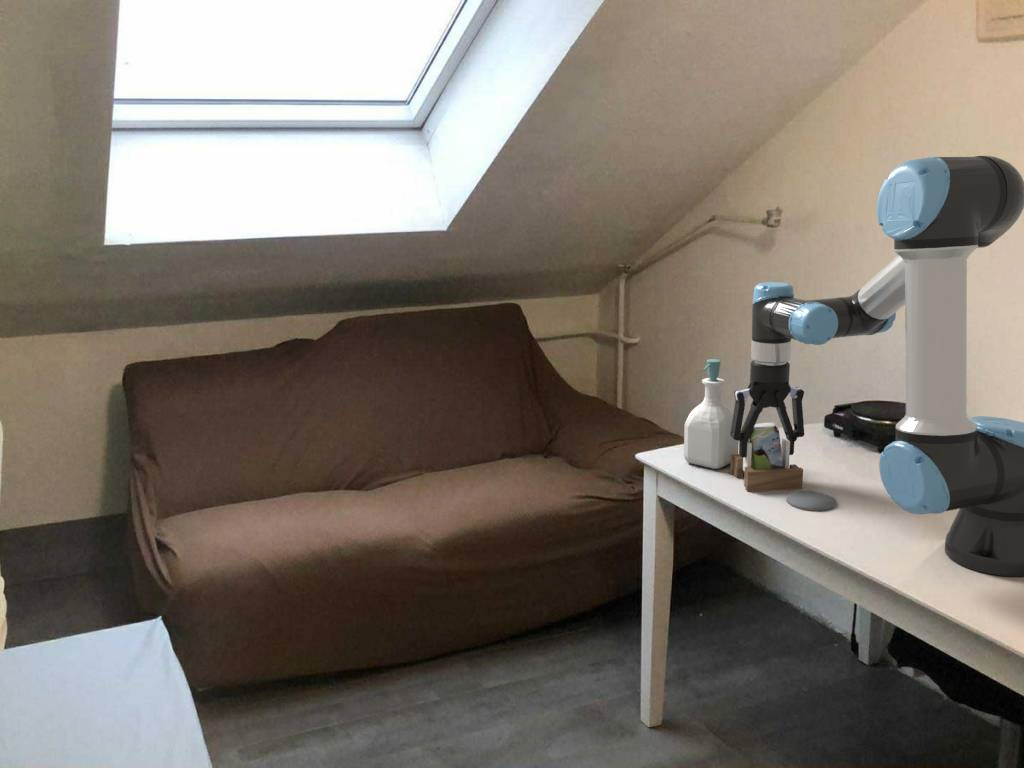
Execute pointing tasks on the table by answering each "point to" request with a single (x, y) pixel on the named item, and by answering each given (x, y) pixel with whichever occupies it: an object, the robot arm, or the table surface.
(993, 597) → the table surface
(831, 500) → the coaster
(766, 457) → the beverage can
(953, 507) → the robot arm
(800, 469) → the caddy
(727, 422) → the soap bottle
